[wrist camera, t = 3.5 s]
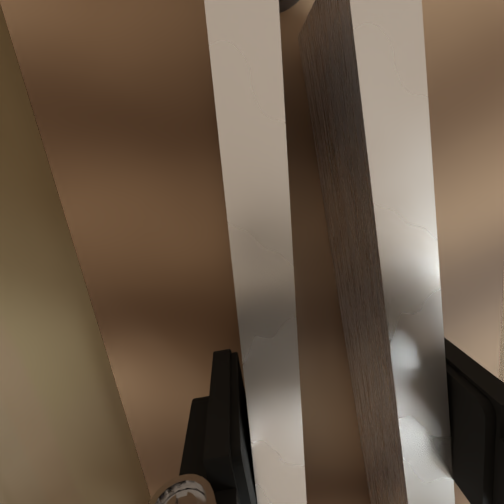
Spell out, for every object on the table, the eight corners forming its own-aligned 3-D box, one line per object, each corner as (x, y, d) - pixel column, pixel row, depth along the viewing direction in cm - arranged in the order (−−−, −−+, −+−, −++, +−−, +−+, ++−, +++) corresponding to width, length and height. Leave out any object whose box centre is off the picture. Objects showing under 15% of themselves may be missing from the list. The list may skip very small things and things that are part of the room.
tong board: (9, -60, 9) (-492, -587, 3) (480, -125, 9) (981, -725, 3) (182, 545, 15) (147, 813, 9) (467, 491, 15) (630, 712, 9)
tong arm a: (297, 36, 8) (343, -57, 5) (363, 22, 8) (454, -82, 5) (377, 546, 13) (428, 676, 10) (419, 536, 13) (484, 663, 10)
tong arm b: (189, 47, 8) (160, -42, 5) (257, 41, 8) (276, -48, 5) (251, 567, 13) (259, 708, 10) (295, 562, 13) (317, 698, 10)
